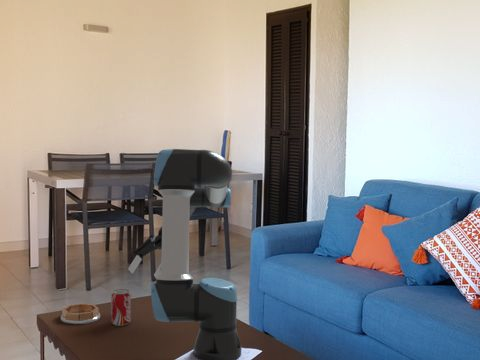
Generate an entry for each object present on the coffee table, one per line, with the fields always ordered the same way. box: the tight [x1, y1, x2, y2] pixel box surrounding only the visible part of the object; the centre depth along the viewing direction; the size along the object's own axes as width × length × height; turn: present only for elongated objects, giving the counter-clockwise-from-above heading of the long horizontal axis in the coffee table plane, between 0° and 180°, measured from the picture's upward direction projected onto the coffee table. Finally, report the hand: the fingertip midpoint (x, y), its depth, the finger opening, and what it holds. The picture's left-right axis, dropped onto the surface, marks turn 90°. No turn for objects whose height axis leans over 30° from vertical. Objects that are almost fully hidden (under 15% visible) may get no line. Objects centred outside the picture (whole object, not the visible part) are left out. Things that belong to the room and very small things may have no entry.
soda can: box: [110, 288, 132, 327], centre depth 215 cm, size 7×7×12 cm
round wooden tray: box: [60, 302, 101, 325], centre depth 221 cm, size 14×14×4 cm
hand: (142, 274), depth 223 cm, fingers open, 13 cm apart
